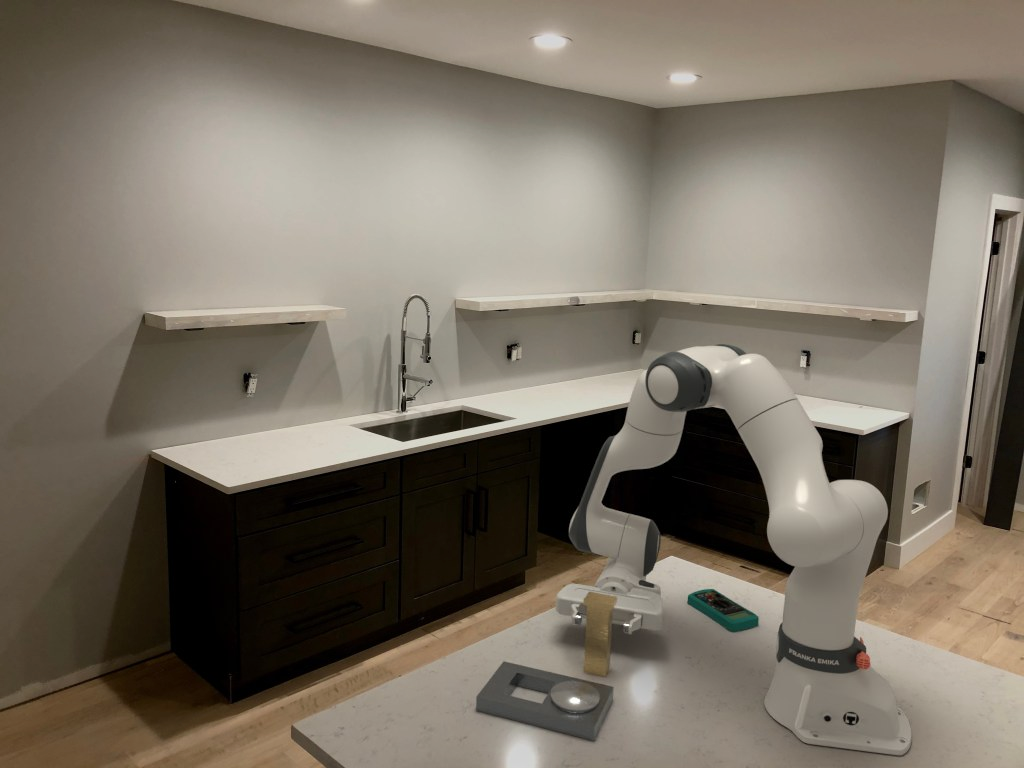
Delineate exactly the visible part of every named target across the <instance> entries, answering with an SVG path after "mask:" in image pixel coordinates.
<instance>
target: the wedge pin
mask: <svg viewBox="0 0 1024 768" xmlns="http://www.w3.org/2000/svg"><path fill="white" fill-rule="evenodd" d="M616 603H617V597H615V596H610V595H605V594H600V593H594V592H588V594H587V595H586V597H585V598H584V602H583V605H586V606H587V617H586V620H585V622H586V623H585V637H584V639H585V641H584V642H585V643H584V657H583V658H584V659H583V660H584V661H583V662H584V663H583V673H586V674H590V675H595V676H600V677H604V678H606V677H607V675H608V673H609V671H610V667H611V652H612V651H611V650H612V649H611V648H612V634H613V633H612V630H613V623H612V617H613V608H614V607H615V605H616Z"/></svg>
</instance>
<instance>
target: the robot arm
mask: <svg viewBox="0 0 1024 768" xmlns="http://www.w3.org/2000/svg"><path fill="white" fill-rule="evenodd" d="M714 406H720V407H722V408H723V409H724V410H725V412H726V413H727V414H728V416H729V417H730V419H731V421H732V423H733V425H734V426H735V429H736V430H737V432H738V434H739V436H740V438H741V440H742V441H743V444H744V445H745V447H746V449H747V450H748V452H749V454H750V456H751V458H752V460H753V461H754V463H755V465H756V467H757V469H758V472H759V474H760V477H761V479H762V483H763V486H764V490H765V494H766V499H767V502H768V503H767V504H768V508H769V509H768V510H769V515H768V517H769V518H768V521H767V527H766V534H767V540H768V543H769V545H770V547H771V549H772V551H773V552H774V553H775V555H776V556H777V557H778V558H779V559H780V560H781V561H783V562H784V563H786V564H788V565H790V566H792V567H794V568H793V569H792V571H791V573H790V574H789V576H788V578H787V580H786V581H787V582H786V584H785V591H784V602H783V613H782V621H781V623H780V624H779V628H778V631H777V637H776V644H775V645H776V646H775V655H776V656H775V657H776V663H775V664H776V665H775V668H774V672H773V675H772V679H771V683H770V685H769V688H768V691H767V693H766V694H765V696H764V699H763V704H764V707H765V709H766V711H767V713H768V714H769V715H770V716H771V718H773V719H774V720H775V721H776V722H778V723H779V724H781V725H782V726H783V727H786V728H787V729H789V730H790V731H792V733H793V734H794V735H795V736H796V737H797V738H798V739H799V740H800V741H801V742H803V743H804V744H805V743H806V744H808V745H816V746H823V747H832V748H838V749H845V750H846V749H848V750H855V751H862V752H870V753H876V754H877V753H879V754H885V755H892V756H903V755H905V754H906V753H907V752H908V751H909V750H910V748H911V746H912V745H911V744H912V729H911V723H910V722H909V721H910V720H909V719H908V717H907V715H906V714H905V713H904V711H903V710H902V709H901V708H900V707H899V706H898V701H897V698H896V697H897V696H896V695H895V692H894V690H893V688H892V686H891V683H890V682H889V681H888V679H886V678H885V677H883V676H882V675H881V674H880V673H879V672H878V671H877V670H875V669H874V668H873V667H872V666H871V658H870V655H868V654H867V646H866V645H865V643H864V640H863V638H862V636H860V637H859V639H858V638H857V637H856V636H855V633H856V632H855V631H856V624H857V615H858V608H859V607H858V606H859V601H860V596H861V592H862V588H863V585H864V583H865V578H866V576H867V573H868V569H869V566H870V564H871V561H872V557H873V555H874V551H875V548H876V545H877V544H876V543H877V541H878V538H879V536H880V534H881V531H882V530H883V528H884V526H885V525H886V522H887V520H888V514H889V509H888V504H887V501H886V499H885V497H884V496H883V494H882V492H881V491H880V490H879V489H878V488H877V487H875V486H874V485H873V484H871V483H869V482H867V481H865V480H864V481H863V480H857V479H837V480H834V481H831V482H830V480H829V477H828V476H827V472H826V469H825V465H824V461H823V454H822V452H823V447H824V445H823V440H822V437H821V435H820V433H819V432H818V430H817V428H816V427H815V426H814V424H813V422H812V420H811V419H810V417H809V415H808V414H807V411H806V410H805V409H804V407H803V405H802V404H801V402H800V400H799V398H798V396H797V395H796V394H795V392H794V391H793V389H792V388H791V386H790V385H789V384H788V382H787V381H786V380H785V378H784V376H782V374H781V373H780V372H779V371H778V369H777V368H776V367H775V366H774V365H773V364H772V363H771V362H770V361H769V359H768V358H767V357H765V356H763V355H762V354H758V353H747V352H746V351H745V350H743V349H741V348H740V347H738V346H735V345H731V344H724V343H719V344H714V345H705V346H701V345H700V346H699V345H698V346H697V345H695V346H692V347H688V348H687V347H686V348H683V349H680V350H677V351H669V352H666V353H664V354H662V355H660V356H659V357H657V358H655V359H654V360H653V361H652V362H650V365H649V366H648V368H647V369H644V370H643V371H642V372H641V373H640V374H639V376H638V377H637V380H636V382H635V384H634V386H633V389H632V393H631V394H630V399H629V403H628V406H627V410H626V415H625V420H624V424H623V426H622V428H621V429H620V431H619V432H618V433H617V434H616V435H613V436H612V435H611V436H609V437H608V438H607V439H606V441H605V442H604V443H603V445H602V446H601V449H600V450H599V453H598V456H597V458H596V460H595V464H594V466H593V468H592V470H591V472H590V476H589V478H588V481H587V483H586V486H585V489H584V492H583V494H582V496H581V500H580V502H579V505H578V506H577V508H576V510H575V511H574V513H573V515H572V517H571V519H570V523H569V527H568V537H569V539H570V542H571V543H572V545H573V546H574V547H575V548H576V550H578V551H580V552H584V553H589V554H594V555H595V554H597V555H600V556H603V557H607V558H610V559H609V560H608V561H607V563H606V564H605V565H604V568H603V570H602V572H601V574H600V575H599V577H598V579H597V580H596V582H595V584H594V586H592V585H586V584H585V585H584V584H580V583H569V584H567V585H565V586H564V587H562V588H561V590H559V592H558V593H557V594H556V597H555V611H556V612H557V613H558V614H559V615H563V616H569V617H571V625H577V626H581V624H582V622H583V619H586V617H587V606H586V605H583V602H584V598H585V597H586V595H587V594H588V592H594V593H600V594H605V595H610V596H615V597H617V603H616V605H615V607H614V608H613V617H612V624H614V625H620V626H623V631H622V633H623V634H627V635H632V634H633V632H634V631H637V630H640V629H644V630H648V631H654V632H657V631H659V630H661V629H662V626H663V625H662V624H663V616H664V601H663V598H662V594H661V593H662V592H661V586H660V585H659V584H656V583H653V582H649V581H647V576H648V575H649V574H651V572H652V571H654V568H655V565H656V563H657V560H658V557H659V553H660V548H661V543H662V542H661V536H662V535H661V532H660V530H659V528H658V526H657V524H656V523H655V521H654V520H653V519H650V518H646V517H644V516H640V515H635V514H632V513H627V512H623V511H619V510H616V509H613V508H609V507H606V506H605V505H603V503H602V501H603V499H604V496H605V494H606V491H607V488H608V486H609V483H610V481H611V479H612V476H614V475H616V474H617V473H621V472H625V471H632V470H643V469H644V470H645V469H651V468H652V469H653V468H655V467H658V466H661V465H663V464H664V463H666V462H669V460H671V459H672V458H673V457H674V456H675V454H676V453H677V450H678V448H679V445H680V442H681V438H682V434H683V430H684V425H685V420H686V416H687V412H688V411H692V410H697V409H705V408H707V409H708V408H712V407H714Z"/></svg>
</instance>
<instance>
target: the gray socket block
mask: <svg viewBox="0 0 1024 768" xmlns="http://www.w3.org/2000/svg"><path fill="white" fill-rule="evenodd" d="M516 687H521V688H524V689H528V690H534V691H538V692H540V693H546V694H547V695H546V696H545V698H544V699H543V701H542V703H541V702H537V701H534V700H529V699H525V698H520V697H517V696H513V695H512V693H513V692H514V690H515V689H516ZM614 687H615V686H611V685H607V684H603V683H599V682H595V681H589V680H586V679H581V678H577V677H574V676H567V675H564V674H560V673H556V672H552V671H547V670H543V669H539V668H534V667H529V666H525V665H522V664H516V663H514V662H507V661H504V660H503V662H502V663H501V664H500V665H499V666H498V667H497V669H496V670H495V672H494V673H493V674H492V676H491V677H490V678H489V680H488V681H487V682H486V683H485V685H484V686H483V687H482V689H480V691H479V692H478V693H477V695H476V697H475V699H476V700H475V701H476V703H475V704H476V705H475V706H476V707H475V711H476V712H480V713H484V714H488V715H491V716H495V717H499V718H504V719H507V720H511V721H515V722H519V723H523V724H526V725H530V726H534V727H538V728H543V729H546V730H550V731H553V732H554V731H555V732H556V733H557V732H558V733H561V734H566V735H569V736H573V737H577V738H581V739H585V740H588V741H593V742H595V740H596V738H597V735H598V733H599V731H600V729H601V726H602V724H603V722H604V721H605V718H606V716H607V715H608V712H609V710H610V707H611V705H612V703H613V701H614V691H615V690H614ZM512 691H513V692H512Z"/></svg>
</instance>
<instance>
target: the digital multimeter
mask: <svg viewBox="0 0 1024 768" xmlns="http://www.w3.org/2000/svg"><path fill="white" fill-rule="evenodd" d="M686 602H687V604H688V605H689V606H691V607H692V608H693V609H696V610H697V611H699V612H701V613H702V614H704V615H705V616H707V617H709V618H710V619H711V620H713V621H715V622H716V623H717V624H719V625H720V626H722V627H723V628H725V629H726V630H728V631H729V632H731V633H735V632H741V631H745V630H749V629H752V628H755V627H758V626H759V620H760V618H759V617H760V616H758V615H757V614H756V613H754V612H753V611H751V610H749V609H747V608H745V607H744V606H742V605H740V604H739V603H737V602H735V601H734V600H732V599H730V598H729V597H727V596H726V595H724V594H722V593H721V592H719V591H717V590H716V589H715V588H705V589H700V590H697V591H693V592H692V593H689V594H688V595H687V601H686Z"/></svg>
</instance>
